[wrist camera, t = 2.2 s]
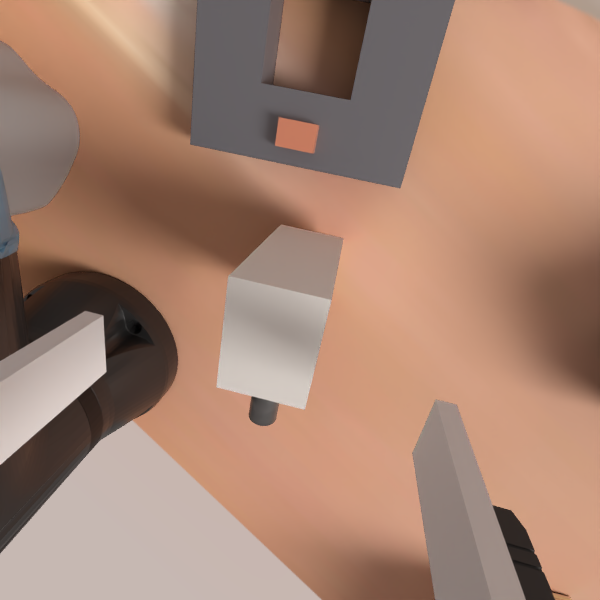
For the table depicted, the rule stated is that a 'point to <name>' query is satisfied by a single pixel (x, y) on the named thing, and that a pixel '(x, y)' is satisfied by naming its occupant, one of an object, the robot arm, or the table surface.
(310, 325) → the plug
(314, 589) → the table surface
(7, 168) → the lumpy-topped squat cylinder
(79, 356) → the robot arm
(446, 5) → the socket
